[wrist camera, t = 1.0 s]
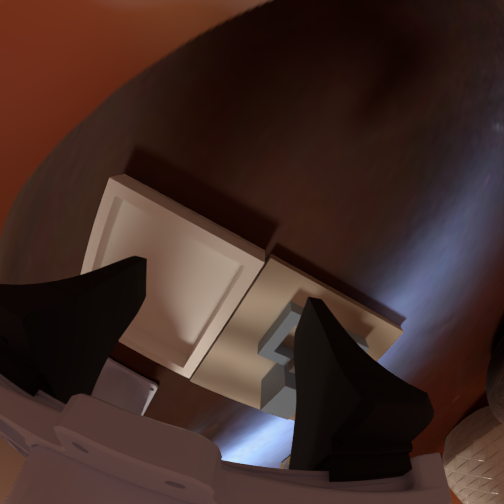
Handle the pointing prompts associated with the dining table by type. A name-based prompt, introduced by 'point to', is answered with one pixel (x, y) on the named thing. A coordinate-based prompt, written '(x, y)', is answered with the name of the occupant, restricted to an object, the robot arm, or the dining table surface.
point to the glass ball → (496, 382)
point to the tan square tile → (263, 317)
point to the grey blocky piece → (284, 364)
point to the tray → (172, 270)
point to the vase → (476, 458)
